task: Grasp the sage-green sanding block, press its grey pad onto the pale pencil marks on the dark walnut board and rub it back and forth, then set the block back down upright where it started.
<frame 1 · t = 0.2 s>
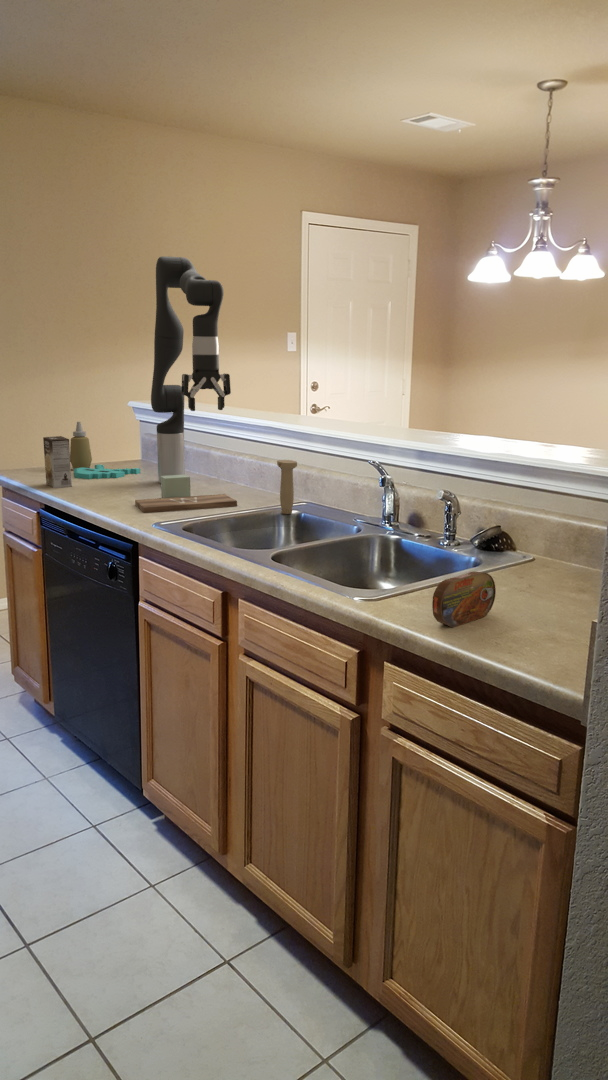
hand: (206, 410, 234), 28 cm above the worktop, fingers open, 8 cm apart
coffee box: (59, 485, 272), on the worktop
squeeze bottle: (81, 470, 305), on the worktop
walnut board: (186, 505, 241), on the worktop
sanding block: (176, 498, 251), on the worktop
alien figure: (101, 476, 294), on the worktop
tin: (462, 621, 144), on the worktop
handle: (286, 513, 231), on the worktop
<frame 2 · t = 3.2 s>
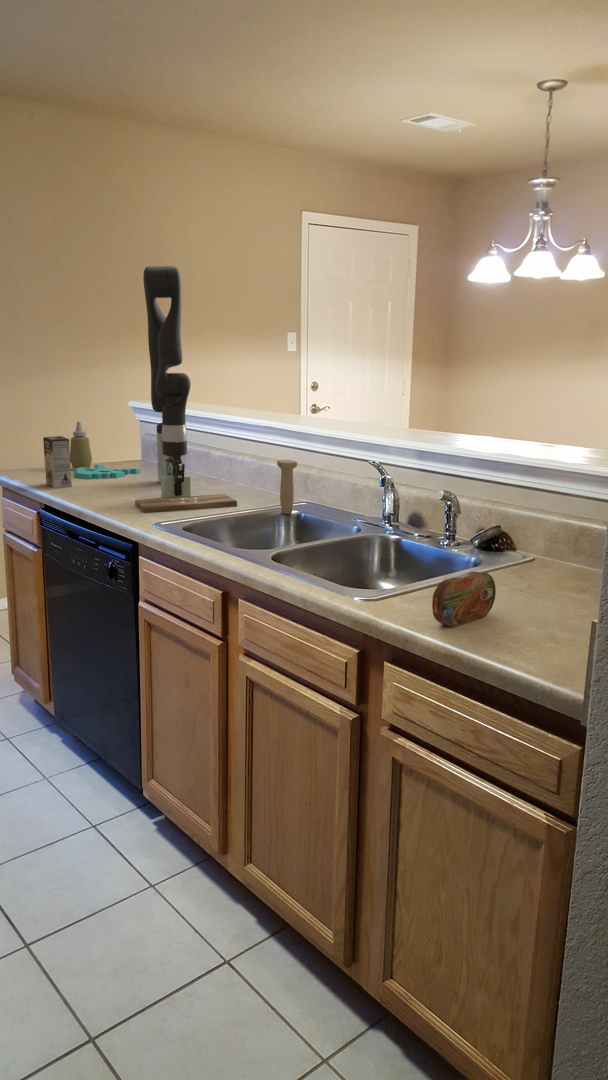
hand: (175, 493, 251), 1 cm above the worktop, fingers closed on sanding block, 5 cm apart
sanding block: (176, 498, 251), on the worktop, touching gripper
everything else where it was.
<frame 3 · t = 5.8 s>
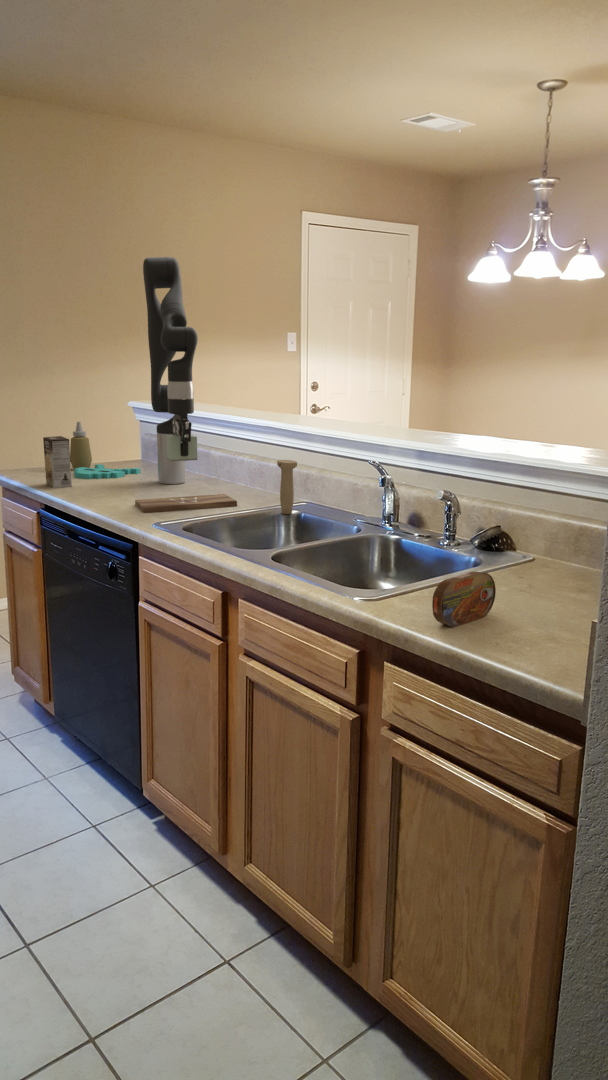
hand: (182, 454, 240), 15 cm above the worktop, fingers closed on sanding block, 5 cm apart
sanding block: (182, 459, 240), point 13 cm above the worktop, touching gripper
everything else where it was.
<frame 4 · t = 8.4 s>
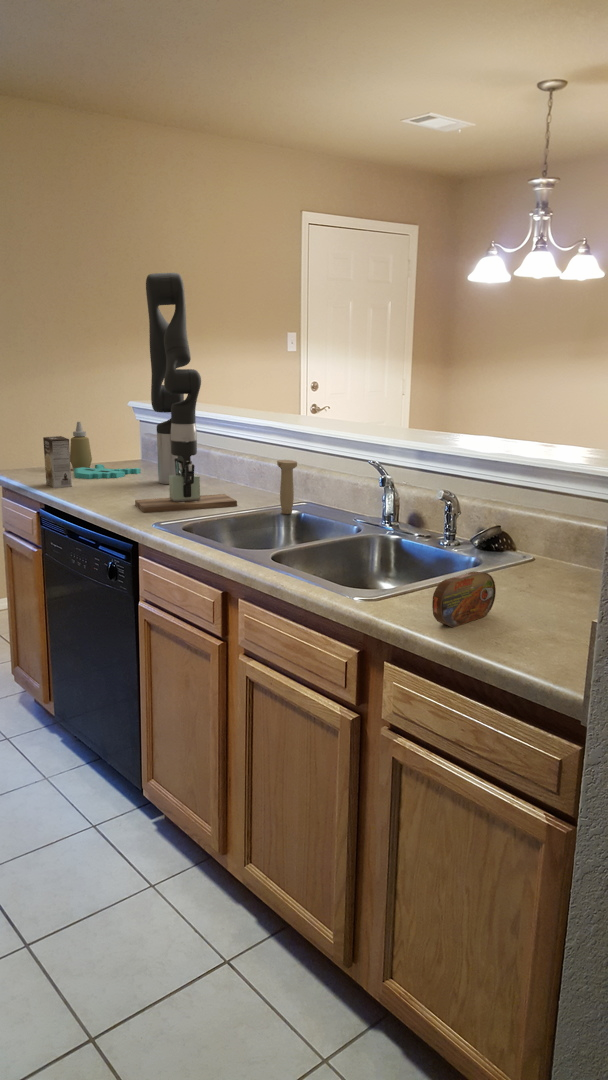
hand: (184, 495, 240), 3 cm above the worktop, fingers closed on sanding block, 5 cm apart
sanding block: (184, 499, 241), point 2 cm above the worktop, touching gripper
everything else where it was.
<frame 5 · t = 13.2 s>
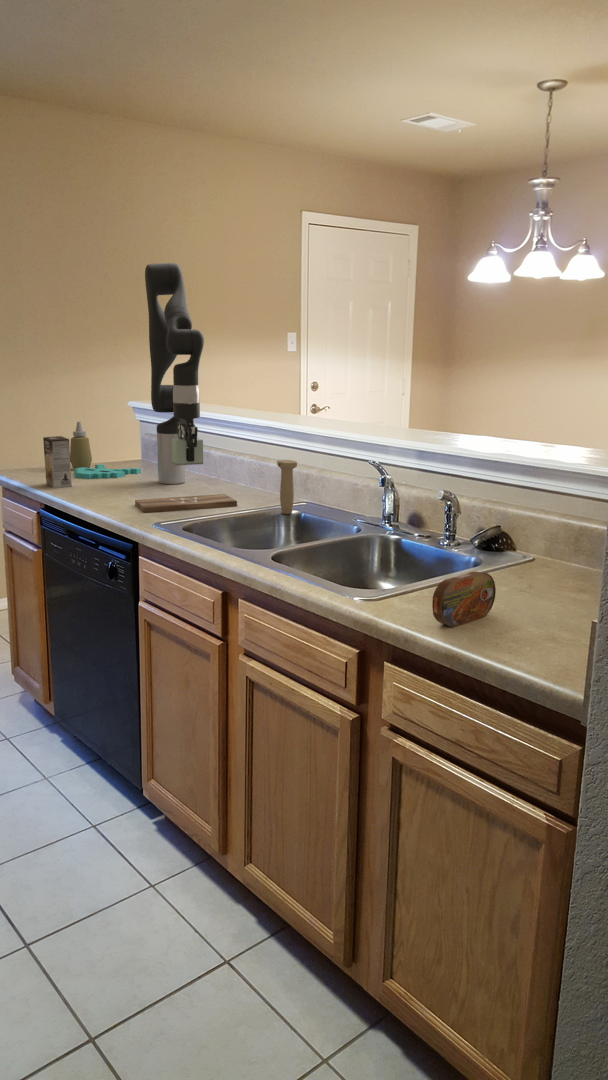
hand: (187, 459, 235), 14 cm above the worktop, fingers closed on sanding block, 5 cm apart
sanding block: (187, 463, 235), point 13 cm above the worktop, touching gripper
everything else where it was.
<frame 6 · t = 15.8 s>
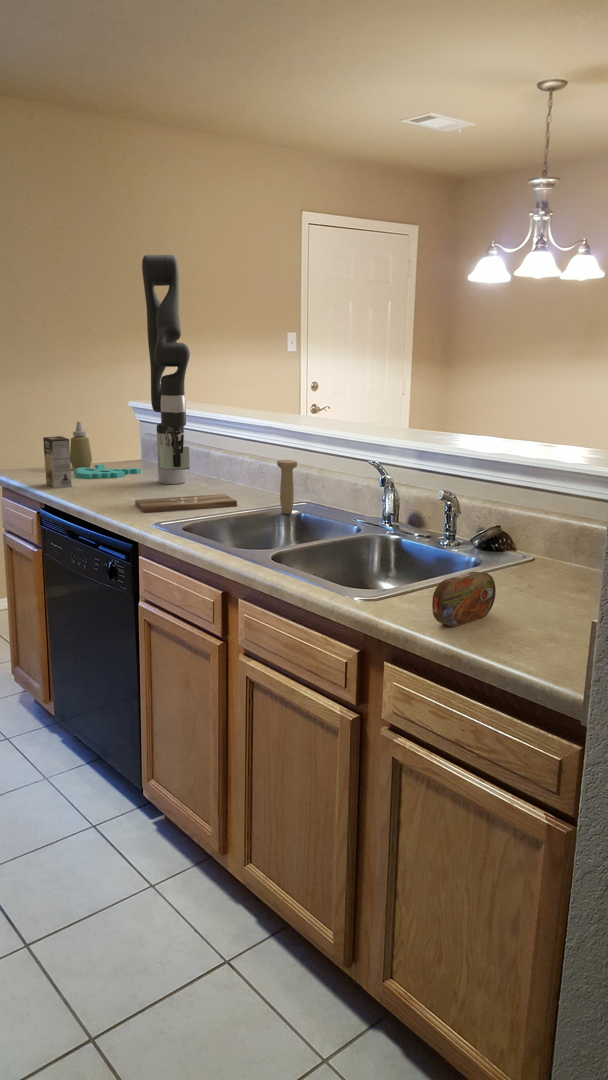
hand: (174, 465, 249), 10 cm above the worktop, fingers closed on sanding block, 5 cm apart
sanding block: (174, 468, 249), point 9 cm above the worktop, touching gripper
everything else where it was.
when the fingers open (2 cm above the worktop, at t = 18.0 s): sanding block drops 1 cm, on the worktop.
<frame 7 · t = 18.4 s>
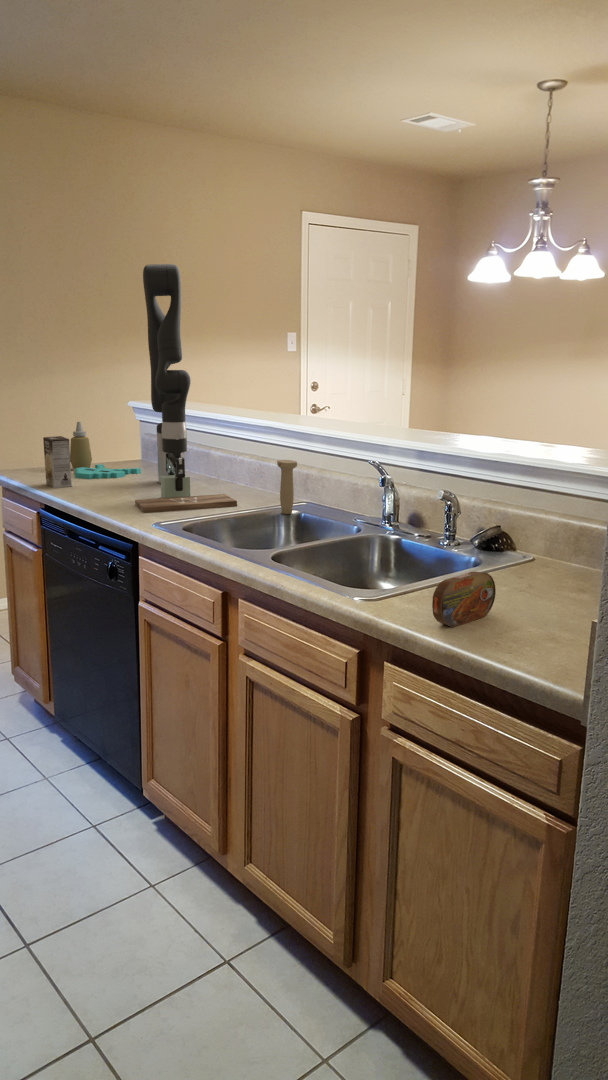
hand: (175, 488, 251), 3 cm above the worktop, fingers open, 8 cm apart
sanding block: (175, 498, 251), on the worktop
everything else where it was.
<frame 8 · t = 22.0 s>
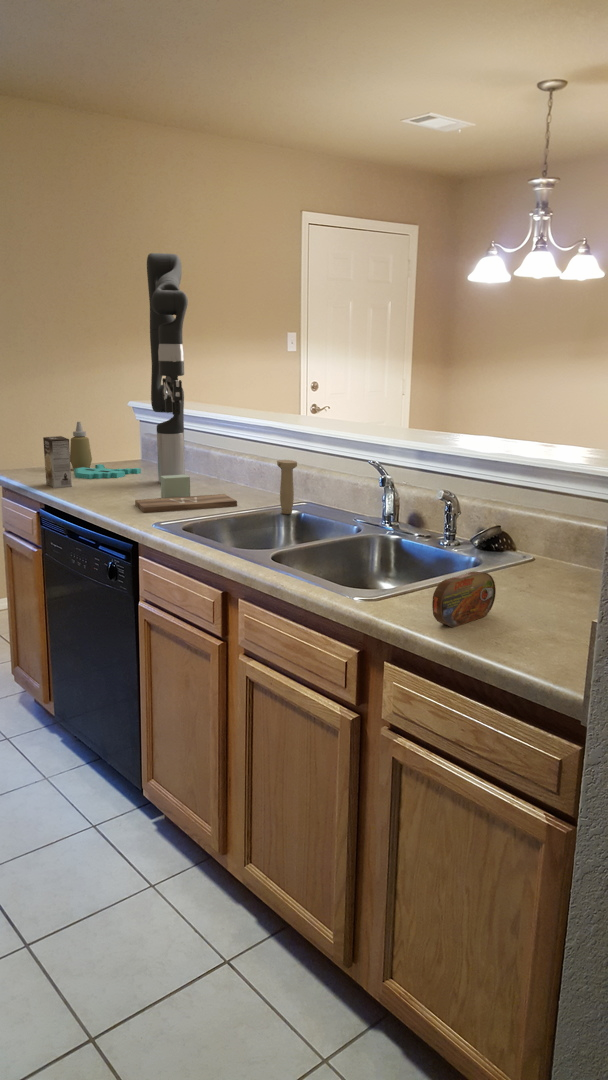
hand: (172, 413, 246), 26 cm above the worktop, fingers open, 8 cm apart
nothing on the worktop moved.
at the end: sanding block inside the target area (0.1 cm from its centre), on the worktop; sanding block tilted 0°; the gripper is holding nothing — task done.
